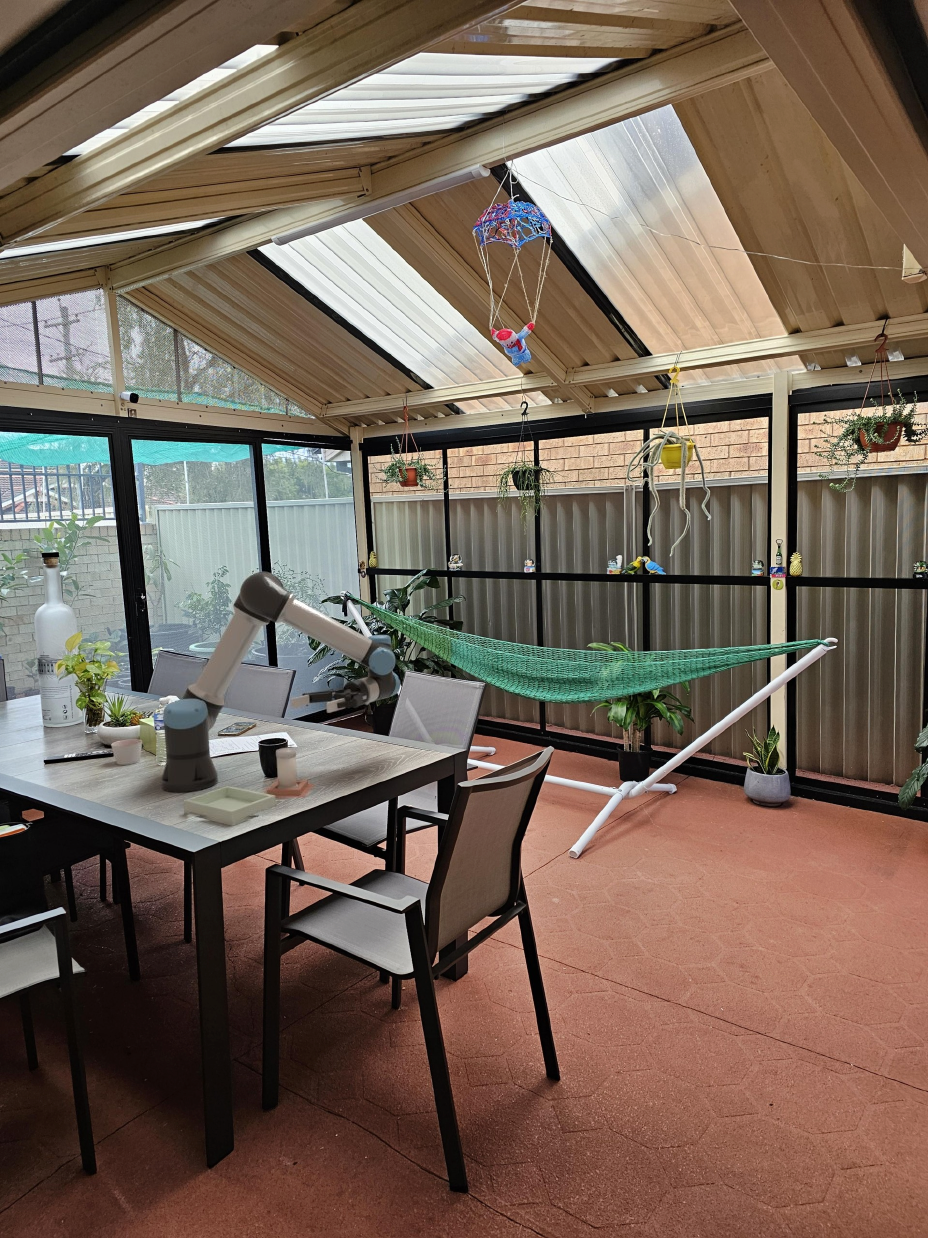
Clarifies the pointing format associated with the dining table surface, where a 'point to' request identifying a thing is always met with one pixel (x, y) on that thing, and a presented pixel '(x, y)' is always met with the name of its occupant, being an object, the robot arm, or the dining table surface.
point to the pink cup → (127, 751)
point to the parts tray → (229, 805)
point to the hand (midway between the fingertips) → (309, 705)
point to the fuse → (286, 768)
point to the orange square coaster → (290, 790)
